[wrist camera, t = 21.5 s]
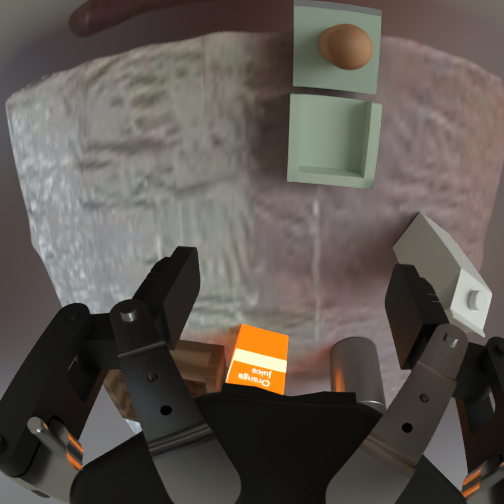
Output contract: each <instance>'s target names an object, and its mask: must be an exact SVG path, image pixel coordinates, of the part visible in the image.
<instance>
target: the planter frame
mask: <svg viewBox="0 0 504 504" xmlns="http://www.w3.org/2000/svg"><path fill="white" fill-rule="evenodd" d="M169 351H170V353H171V356H172V358H173V360H174V362H175V364H176V366H177V368H178V370H179V372H180V374H181V376H182V378H183V379H187V380H193V381H199V382H205V383H206V389H207V393H211V392H219V391H221V389H222V385H223V382H225V383H226V379H227V376H226V364H225V352H224V346H220V345H212V344H205V343H198V342H191V341H185V340H178V343H177V345H176V347H175V350H174V351H172V350H169ZM103 385H104V387H105V389H106V390H107V392H108V394H109V396H110V397H111V399H112V401H113V402H114V404H115V406H116V407H117V409H118V411H119V412H120V414H121V416H122V417H123V418H126V419H129V420H133V421H136V422H139V420H138V418H137V415H136V412H135V409H134V406H133V403H132V401H131V398H130V395H129V391H128V388H127V385H126V382H125V379H124V376H123V372H122V369H116V370H109V371H108V374H107V376H106V378H105V380H104V382H103Z"/></svg>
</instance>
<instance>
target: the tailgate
mask: <svg viewBox="0 0 504 504" xmlns="http://www.w3.org/2000/svg"><path fill="white" fill-rule="evenodd" d="M338 24H352V25H355V26H358V27H359V28H361V29H362V30H364V31H365V32H366V33H367V34H368V36H369V37H370V39H371V41H372V45H373V54H372V57H371V59H370V61H369V62H368V63H367V64H366V65H365V66H364V67H362V68H360V69H357V70H343V69H340V68H338V67H336V66H334V65H333V64H332V63H330V62H329V61H327V60H326V59H325V58H324V57H323V56H322V55H321V53H320V51H319V49H318V39H319V36H320V35H321V33H322V32H323V31H324V30H326V29H328V28H330V27H333V26H335V25H338ZM380 32H381V10H378V9H372V8H367V7H361V6H354V5H348V4H340V3H332V2H322V1H309V0H294V57H293V86H301V87H315V88H326V89H335V90H344V91H352V92H360V93H366V94H373V95H376V89H377V78H378V66H379V52H380V35H381V33H380Z"/></svg>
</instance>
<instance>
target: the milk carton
mask: <svg viewBox="0 0 504 504" xmlns="http://www.w3.org/2000/svg"><path fill="white" fill-rule="evenodd" d="M392 249H393V251H394V253H395V255H396V257H397V260H398V262H399V264H410V265H414V266H415V268H416V270H417V272H418V274H419V276H420V277H423V278H425V279H426V280H427V281H428V282H429V283H430V284H431V285H432V286H433V288H434V290H435V292H436V296H437V297H438V299H439V303H441V305H442V307H443V309H444V311H445V313H446V315H447V318H448V320H449V322H450V324H452V325H455V326H457V327H459V328H460V329H462V330H463V331H464V332H477V333H478V334H480V335H481V336H483V337H485V334H484V332H483V331H482V330H483V327H484V324H485V320H486V317H487V313H488V309H489V305H490V301H491V297H492V293H491V291H490V290H489V288H488V287H487V285H486V283H485V282H484V281H483V279H482V278H481V276H480V275H479V273H478V272H477V271H476V269H475V268H474V266H473V265H472V264H471V262H470V261H469V259H468V258H467V257H466V255H465V254H464V253H463V251H462V250H461V249H460V247H459V246H458V245H457V244H456V242H455V241H454V240H453V238H452V237H451V236H450V235H449V234H448V233H447V232H446V231H445V230H443V229H442V228H441V227H440V226H438V225H437V224H436V223H435V222H433V221H432V220H431V219H429V218H428V217H427V216H426V215H424V214H423V213H421V212H419V214H418V215H417V216H416V218H415V219H414V220H413V222H412V223H411V224H410V226H409V227H408V228H407V230H406V231H405V232H404V233H403V235H402V236H401V237H400V239H399V240H398V241H397V242H396V244H395V245H394V246H393V247H392Z"/></svg>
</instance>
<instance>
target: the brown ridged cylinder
mask: <svg viewBox="0 0 504 504" xmlns="http://www.w3.org/2000/svg"><path fill="white" fill-rule="evenodd" d="M318 49H319V51H320V53H321V55H322V56H323V57H324V58H325V59H326V60H327V61H329V62H330V63H332V64H333V65H334V66H336V67H338V68H340V69H343V70H357V69H360V68H362V67H364V66H365V65H366V64H367V63H368V62H369V61H370V59H371V57H372V54H373V45H372V41H371V39H370V37H369V36H368V34H367V33H366V32H365V31H364V30H362V29H361V28H359V27H358V26H355V25H352V24H338V25H335V26H333V27H330V28H328V29H326V30H324V31H323V32H322V33H321V35H320V36H319V39H318Z"/></svg>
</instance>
